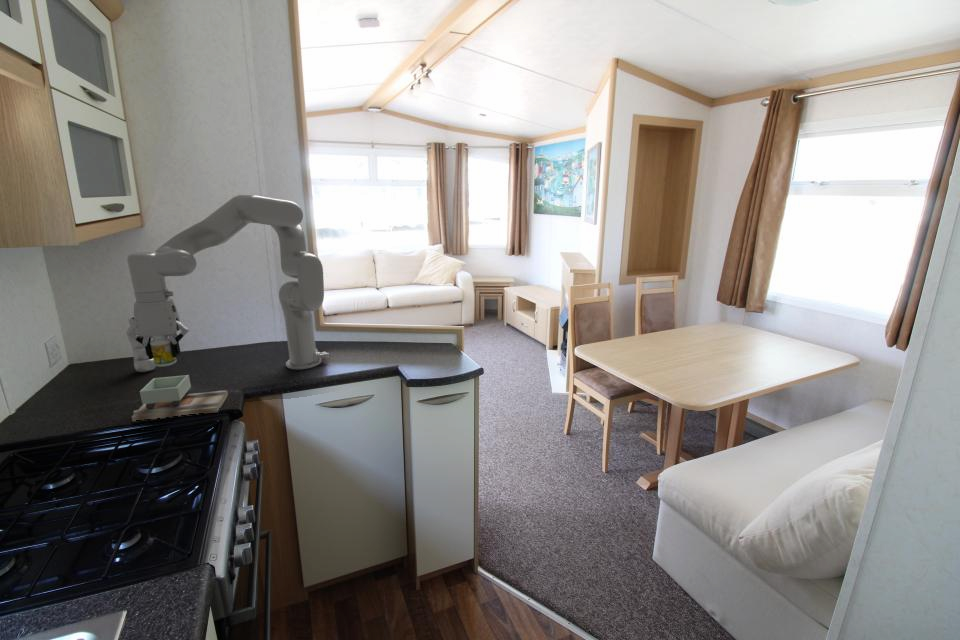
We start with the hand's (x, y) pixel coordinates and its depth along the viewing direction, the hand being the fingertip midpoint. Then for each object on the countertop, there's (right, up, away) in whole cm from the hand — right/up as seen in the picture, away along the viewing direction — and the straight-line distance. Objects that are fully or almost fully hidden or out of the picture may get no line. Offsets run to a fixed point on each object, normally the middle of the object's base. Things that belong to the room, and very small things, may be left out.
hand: (164, 356), depth 133 cm
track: (+2, -16, +5) cm, 17 cm away
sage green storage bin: (-1, -14, +4) cm, 14 cm away
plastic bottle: (-29, -8, +33) cm, 45 cm away
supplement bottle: (0, -2, +1) cm, 2 cm away
